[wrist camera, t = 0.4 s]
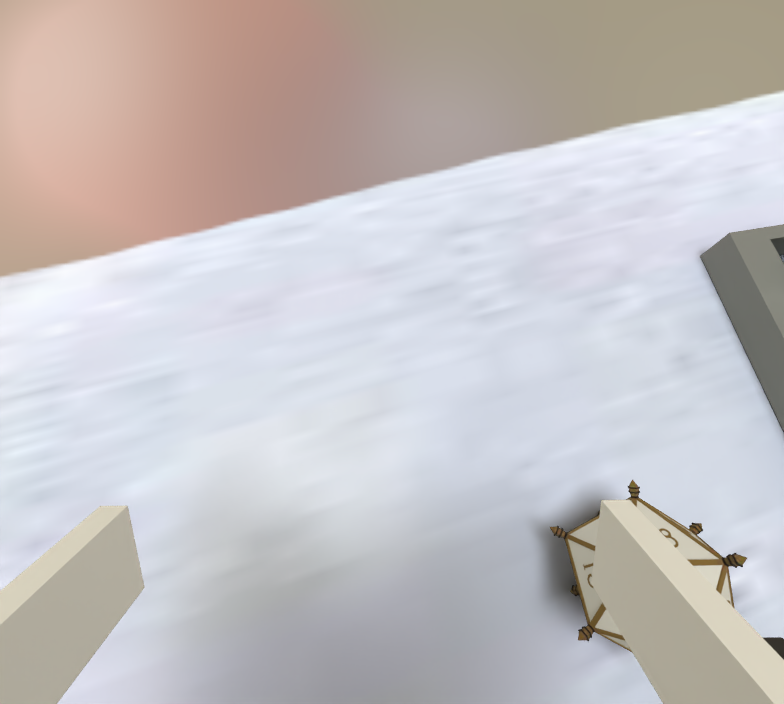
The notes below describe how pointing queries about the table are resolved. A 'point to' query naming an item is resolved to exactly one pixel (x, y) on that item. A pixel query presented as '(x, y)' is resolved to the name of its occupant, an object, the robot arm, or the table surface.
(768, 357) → the console
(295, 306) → the table surface
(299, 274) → the table surface
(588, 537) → the game die
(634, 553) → the robot arm
